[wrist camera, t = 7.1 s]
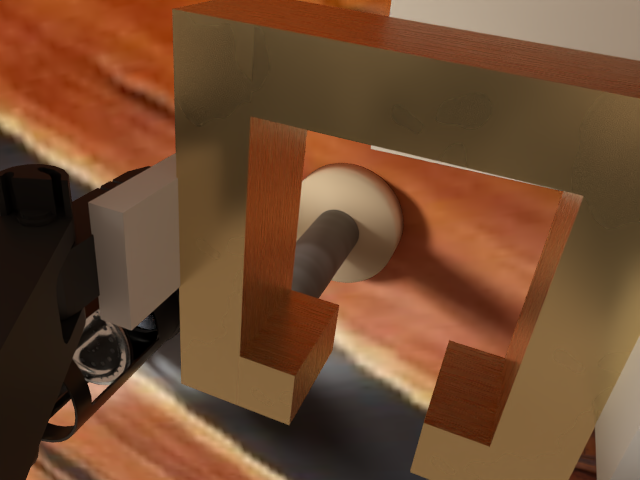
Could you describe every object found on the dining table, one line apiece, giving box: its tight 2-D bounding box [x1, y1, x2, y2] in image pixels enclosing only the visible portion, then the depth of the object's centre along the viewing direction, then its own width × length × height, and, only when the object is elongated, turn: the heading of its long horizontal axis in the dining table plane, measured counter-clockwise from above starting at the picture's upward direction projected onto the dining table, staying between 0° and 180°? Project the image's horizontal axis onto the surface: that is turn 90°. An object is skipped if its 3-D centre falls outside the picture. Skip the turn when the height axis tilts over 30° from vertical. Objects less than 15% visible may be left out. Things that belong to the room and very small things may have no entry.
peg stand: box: [292, 163, 403, 298], centre depth 31 cm, size 7×7×13 cm
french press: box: [31, 288, 180, 466], centre depth 38 cm, size 12×9×23 cm
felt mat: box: [371, 0, 640, 191], centre depth 29 cm, size 13×13×1 cm
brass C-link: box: [172, 0, 640, 480], centre depth 13 cm, size 9×9×3 cm
